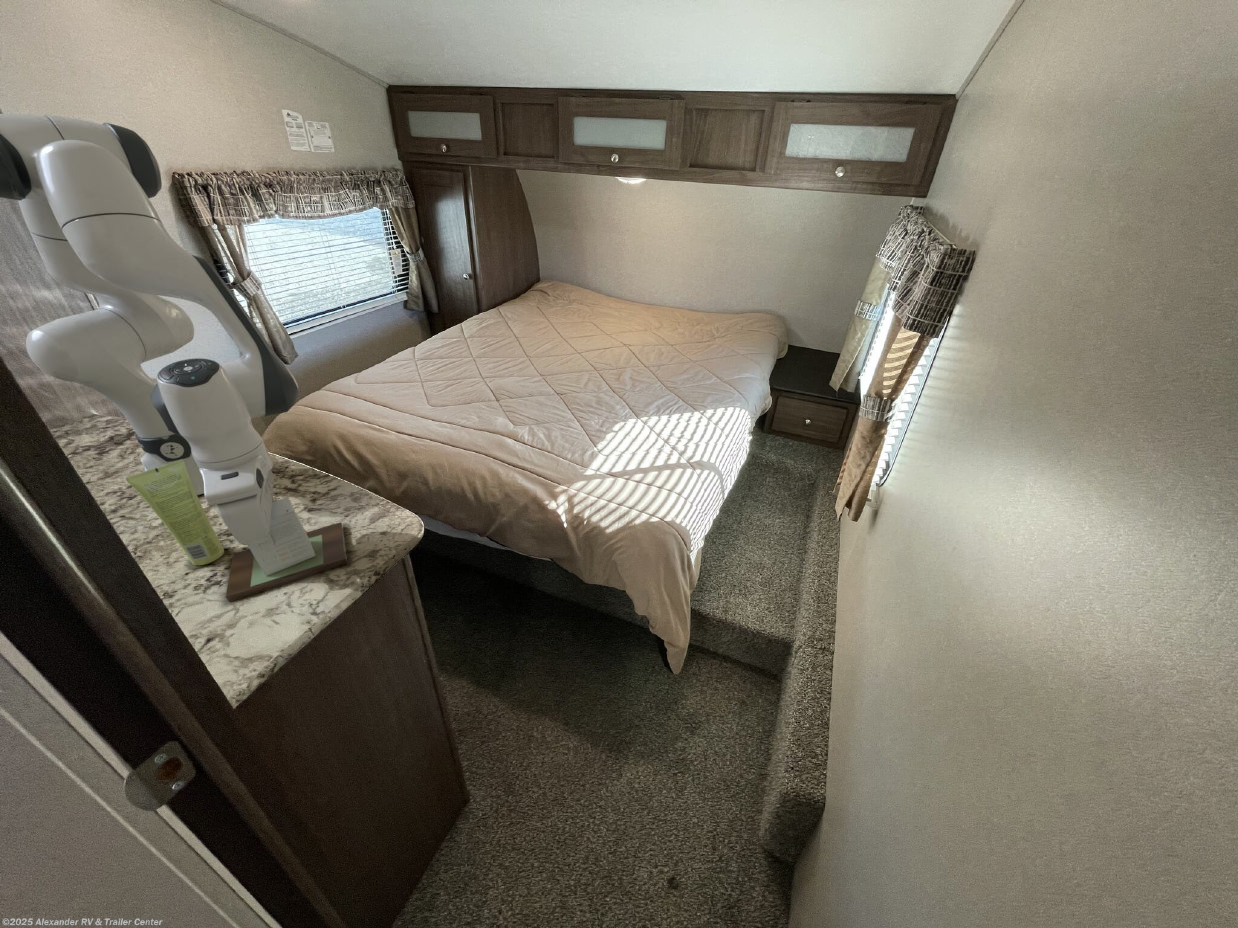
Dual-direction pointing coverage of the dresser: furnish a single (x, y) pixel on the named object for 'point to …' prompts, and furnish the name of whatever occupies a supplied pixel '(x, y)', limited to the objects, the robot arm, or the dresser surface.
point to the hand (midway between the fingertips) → (271, 531)
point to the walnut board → (253, 580)
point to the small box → (283, 540)
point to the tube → (179, 510)
